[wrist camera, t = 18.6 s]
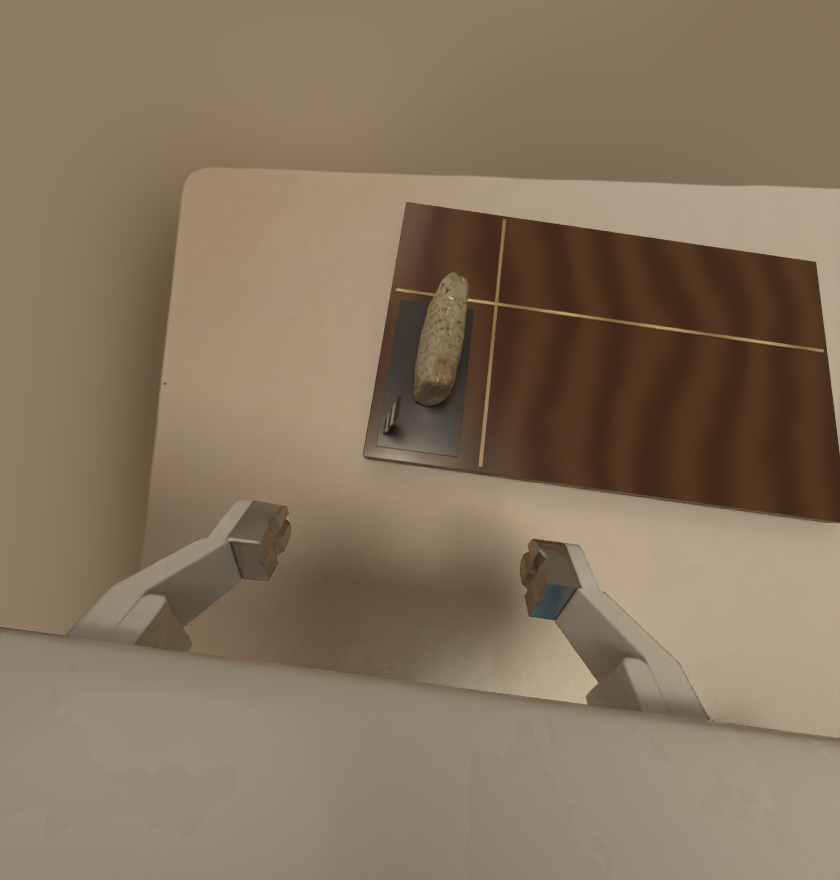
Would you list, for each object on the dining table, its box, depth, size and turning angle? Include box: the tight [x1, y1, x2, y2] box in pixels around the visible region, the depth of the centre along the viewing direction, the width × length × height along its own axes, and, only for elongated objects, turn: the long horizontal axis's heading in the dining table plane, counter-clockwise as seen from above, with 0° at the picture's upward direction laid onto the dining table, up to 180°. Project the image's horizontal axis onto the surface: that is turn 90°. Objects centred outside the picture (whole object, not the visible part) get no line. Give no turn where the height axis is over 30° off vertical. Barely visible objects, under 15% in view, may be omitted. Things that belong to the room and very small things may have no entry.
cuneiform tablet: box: [383, 272, 469, 435], centre depth 25 cm, size 7×4×12 cm
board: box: [363, 202, 840, 523], centre depth 30 cm, size 42×26×2 cm, turn 82°
